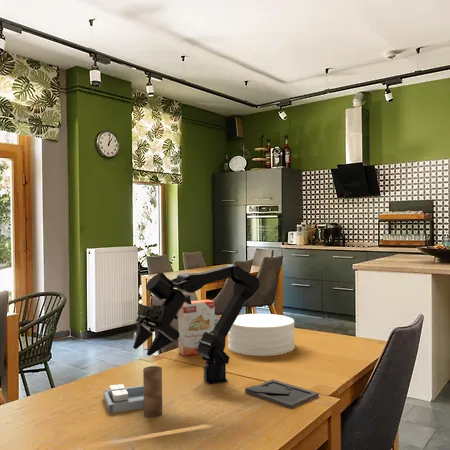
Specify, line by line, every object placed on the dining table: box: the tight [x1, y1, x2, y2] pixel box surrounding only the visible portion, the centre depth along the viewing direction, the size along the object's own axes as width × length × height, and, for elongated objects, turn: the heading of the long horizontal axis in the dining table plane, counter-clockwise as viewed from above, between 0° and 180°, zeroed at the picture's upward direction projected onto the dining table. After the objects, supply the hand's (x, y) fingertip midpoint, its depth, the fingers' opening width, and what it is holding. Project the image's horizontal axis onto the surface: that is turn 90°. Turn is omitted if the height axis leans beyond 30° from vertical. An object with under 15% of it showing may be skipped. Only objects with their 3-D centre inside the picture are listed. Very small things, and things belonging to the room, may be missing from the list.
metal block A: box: [108, 383, 126, 401], centre depth 138 cm, size 4×4×4 cm
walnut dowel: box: [142, 365, 163, 418], centre depth 128 cm, size 5×5×13 cm
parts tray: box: [103, 385, 144, 414], centre depth 137 cm, size 14×12×3 cm
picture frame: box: [244, 379, 320, 410], centre depth 144 cm, size 13×2×18 cm
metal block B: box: [112, 389, 128, 403], centre depth 133 cm, size 4×4×4 cm
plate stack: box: [227, 313, 296, 357], centre depth 200 cm, size 28×28×12 cm
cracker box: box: [177, 299, 216, 357], centre depth 192 cm, size 14×6×21 cm, turn 117°
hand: (141, 351), depth 141 cm, fingers open, 9 cm apart
